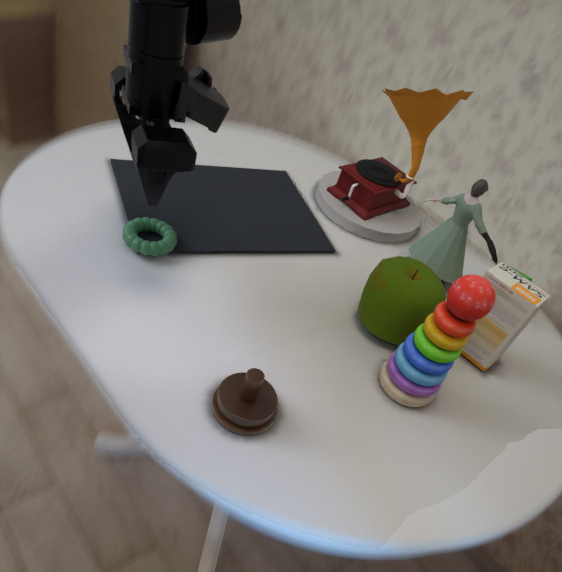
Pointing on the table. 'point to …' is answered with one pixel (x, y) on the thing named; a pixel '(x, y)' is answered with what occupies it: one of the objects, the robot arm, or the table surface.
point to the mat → (226, 211)
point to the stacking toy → (436, 343)
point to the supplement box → (503, 315)
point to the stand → (245, 403)
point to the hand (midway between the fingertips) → (145, 184)
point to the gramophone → (386, 175)
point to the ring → (146, 246)
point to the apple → (399, 298)
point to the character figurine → (453, 235)
